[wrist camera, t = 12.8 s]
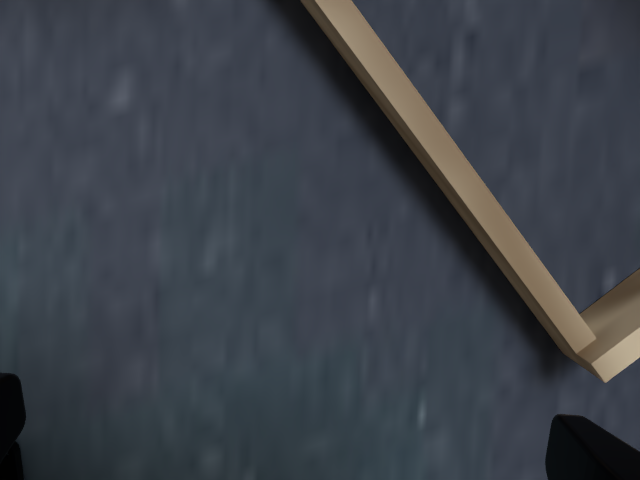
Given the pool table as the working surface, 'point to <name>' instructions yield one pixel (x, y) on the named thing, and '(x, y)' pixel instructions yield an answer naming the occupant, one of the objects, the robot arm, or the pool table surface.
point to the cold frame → (485, 205)
